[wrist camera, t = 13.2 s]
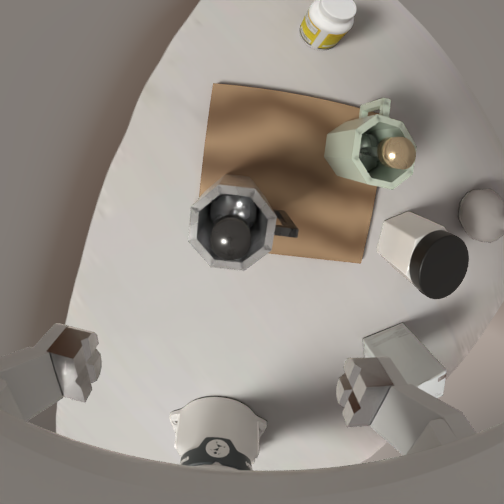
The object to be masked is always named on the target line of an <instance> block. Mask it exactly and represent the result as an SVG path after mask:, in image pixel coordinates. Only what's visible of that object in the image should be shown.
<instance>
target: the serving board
mask: <svg viewBox="0 0 504 504" xmlns="http://www.w3.org/2000/svg"><path fill="white" fill-rule="evenodd" d="M359 112H360V108H357V107H353V106H349V105H345V104H341V103H337V102H333V101H328V100H324V99H319V98H314V97H309V96H304V95H299V94H293V93H288V92H282V91H275V90H269V89H262V88H254V87H246V86H237V85H227V84H215V83H213V88H212V95H211V102H210V109H209V116H208V124H207V131H206V139H205V147H204V156H203V165H202V174H201V183H200V193H199V197H200V196H201V195H202V194H203V193H204V192H205V191H206V190H207V189H208V188H209V187H210V186H211V185H213V184H214V183H215V182H216V181H218V180H219V179H220V178H221V177H223V176H224V175H225V174H230V175H239V176H248V177H250V178H251V179H252V180H253V181H254V183H255V184H256V185H257V187H258V188H259V189H260V190H261V192H262V193H263V194H264V195H265V197H266V199H267V201H268V202H269V204H270V206H271V207H272V209H275V210H282V211H285V212H286V213H287V214H288V216H289V217H290V218H291V220H292V221H293V222H294V224H295V225H296V226H297V228H298V229H299V232H298V237H297V238H293V237H285V236H277V235H274V238H273V245H272V251H270V252H269V253H270V254H279V255H288V256H297V257H306V258H315V259H325V260H334V261H343V262H352V263H361V261H362V257H363V252H364V248H365V244H366V239H367V235H368V230H369V225H370V221H371V216H372V211H373V206H374V200H375V195H376V190H377V186H373V185H369V184H365V183H361V182H358V181H354V180H351V179H347V178H343V177H340V176H337V175H336V174H335V172H334V171H333V169H332V168H331V166H330V165H329V163H328V162H327V161H326V159H325V158H324V153H325V146H326V139H327V134H328V133H330V132H331V131H333V130H334V129H335V128H337V127H338V126H340V125H341V124H343V123H344V122H347V121H351V120H355V119H359ZM376 114H378V113H375V112H372V111H371V112H368V116H372V115H376ZM378 115H379V114H378ZM276 225H282V224H281V223H280V221H279V219H278V218H277V219H276Z"/></svg>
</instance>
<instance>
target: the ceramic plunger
mask: <svg viewBox="0 0 504 504" xmlns="http://www.w3.org/2000/svg"><path fill="white" fill-rule="evenodd" d="M415 157H416V151H415V147H414V145H413V144H412V142H411V141H410V140H409V139H407V138H405V137H387V138H384V139H382V140H381V141H380V143H379V142H378V140H377V139H376V138H375V136H373V135H372V134H370V133H368V132H364V133H362V137H361V144H360V151H359V159H360V161H361V162H362V164H363V165H364V167H365V169H366V170H367V171H369V170H372V169H373V168H375V167H376V166H377V165H378V163H379V161H380V162H381V163H382V164H383V165H384V166H386V167H389V168H396V169H402V170H404V169H408V168H410V167H411V166H412V165H413V163H414V161H415Z"/></svg>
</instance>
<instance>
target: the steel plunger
mask: <svg viewBox="0 0 504 504" xmlns="http://www.w3.org/2000/svg"><path fill="white" fill-rule="evenodd" d="M211 219H212V222H213V224H214V227H213V230H212V233H211V237H210V244H211V248H212V250H213V251H214V253H215V254H216V255H217V256H219V257H220V258H222V259H225V260H237V259H240V258H242V257H243V256H244V255H246V253H247V252H248V251H249V249H250V246H251V233H250V228H251V227H252V225H253V224H254V222H255V219H256V208H255V204H254V202H253V200H252V199H251V198H250V197H249V196H240V195H232V194H223V193H221V194H220V195H219V196H218V197H217V198H216V199H215V201H214V202H213V204H212V207H211Z"/></svg>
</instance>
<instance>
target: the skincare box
mask: <svg viewBox="0 0 504 504" xmlns="http://www.w3.org/2000/svg"><path fill="white" fill-rule="evenodd" d="M363 347H364V357H365V358H372V357H382V356H388V357H389V358H391V360H392V361H393V363H394V364H395V366H396V367H397V369H398V370H399V372H400V373H401V375H402V376H403V378H404V379H405V381H406V382H407V384H412V385H414V386H416V387H418V388H419V389H421V390H423V391H425V392H427V393H428V394H430V395H432V396H434V397H436V398H439V397H441V396H443V393H444V385H445V379H446V371H447V370H446V369H445V368H444V367H443V366H442V365H441V363H440V362H439V361H438V360H437V359H436V358H435V357H434V356H433V355H432V354H431V353H430V351H429V350H428V349H427V348H426V347H425V346H424V345H423V344H422V343H421V342H420V341H419V340H418V339H417V338H416V336H415V335H414V334H413V333H412V332H411V331H410V330H409V329H408V328H407V327H406V326H405V325H404V324H403V323H401V324H398V325H396V326H394V327H391V328H389V329H386V330H384V331H381V332H379V333H376V334H374V335H371V336H369V337H366V338H363Z"/></svg>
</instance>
